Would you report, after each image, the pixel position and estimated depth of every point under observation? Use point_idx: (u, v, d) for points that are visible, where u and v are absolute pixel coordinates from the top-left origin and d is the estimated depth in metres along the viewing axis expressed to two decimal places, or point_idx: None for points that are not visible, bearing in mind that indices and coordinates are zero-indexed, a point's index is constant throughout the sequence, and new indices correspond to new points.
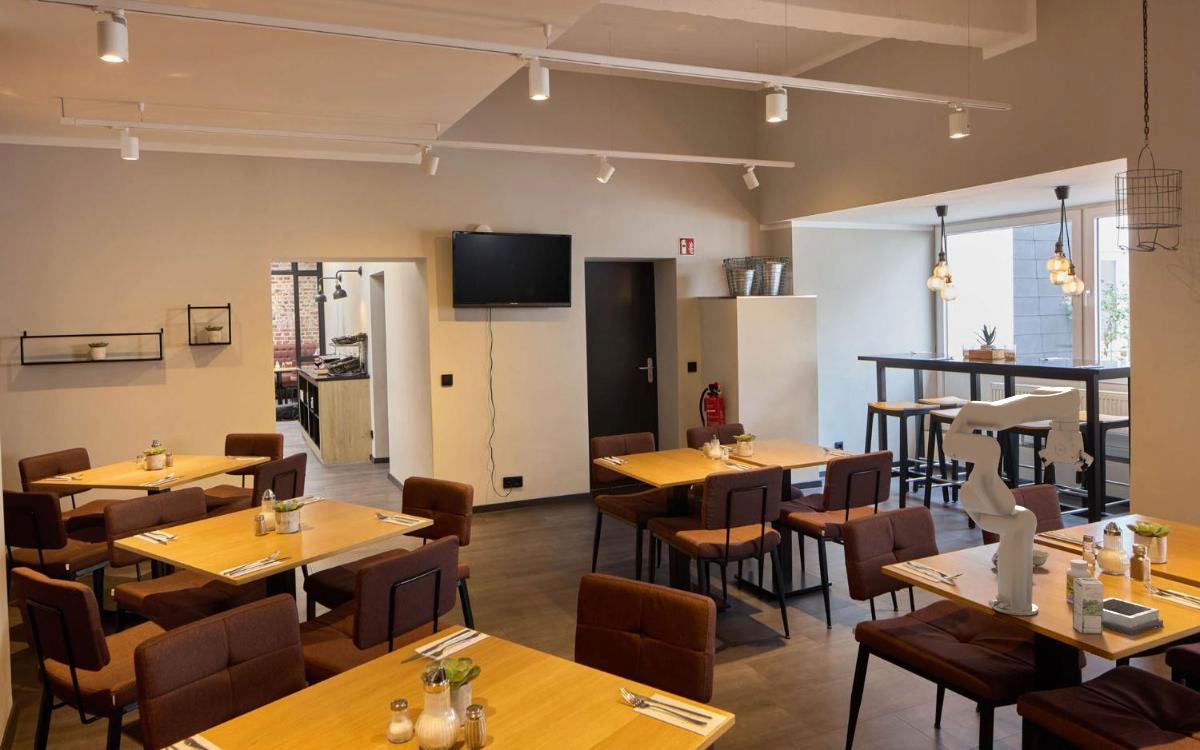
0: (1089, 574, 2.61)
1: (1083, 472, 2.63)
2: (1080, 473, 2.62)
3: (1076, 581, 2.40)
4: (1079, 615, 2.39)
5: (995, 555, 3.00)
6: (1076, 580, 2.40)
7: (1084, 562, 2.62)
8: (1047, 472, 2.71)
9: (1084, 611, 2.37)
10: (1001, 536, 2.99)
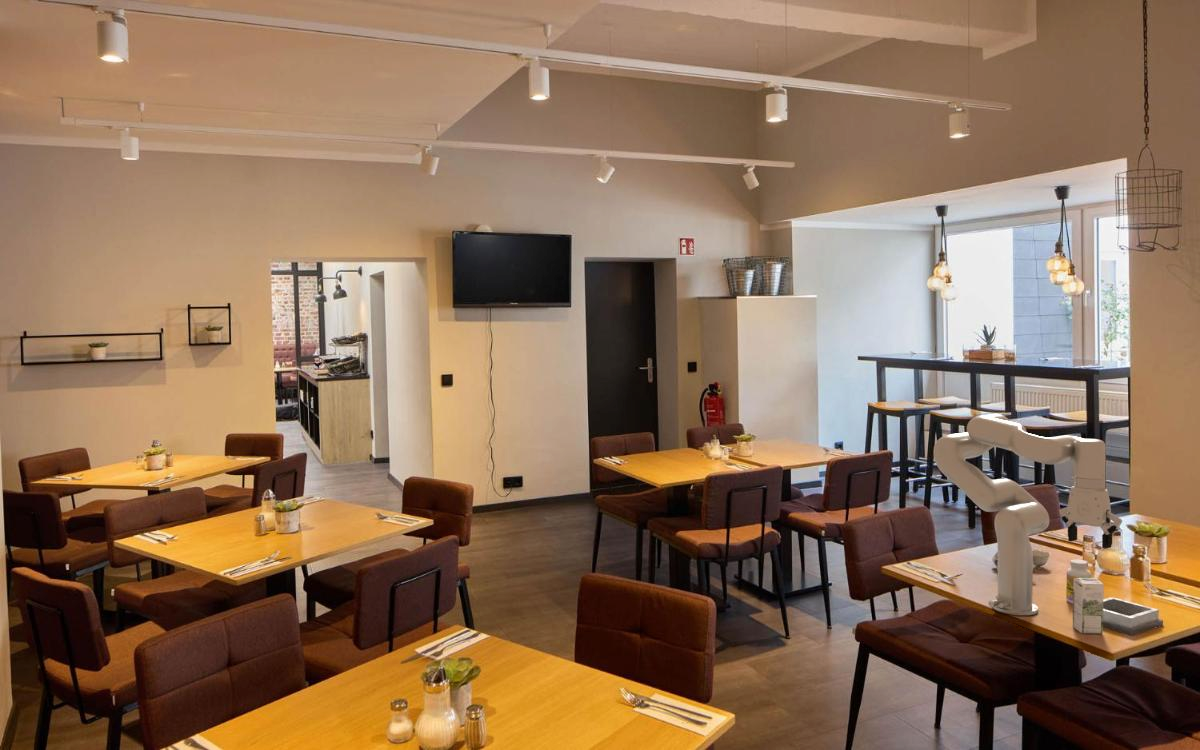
0: (1089, 574, 2.61)
1: (1110, 535, 2.33)
2: (1107, 536, 2.33)
3: (1076, 581, 2.40)
4: (1079, 615, 2.39)
5: (996, 555, 3.00)
6: (1076, 580, 2.40)
7: (1084, 562, 2.62)
8: (1069, 533, 2.42)
9: (1084, 611, 2.37)
10: None
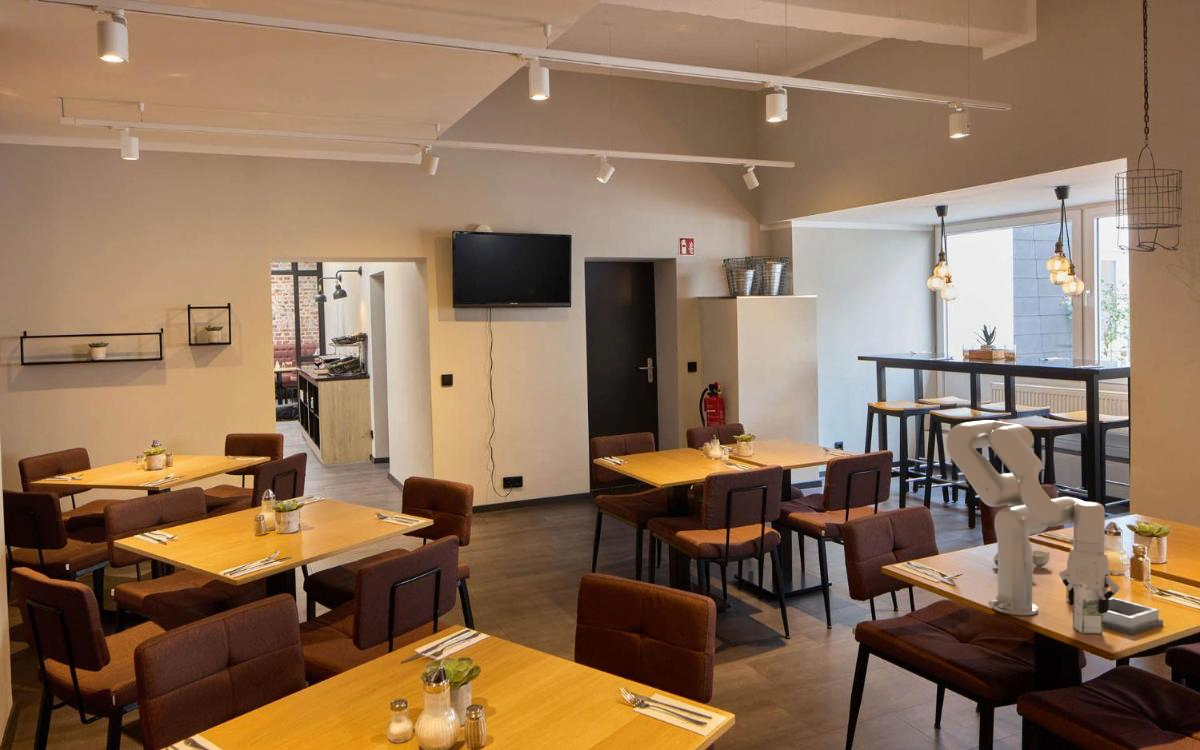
0: None
1: (1107, 600, 2.35)
2: (1103, 602, 2.35)
3: None
4: (1079, 615, 2.39)
5: (997, 555, 3.00)
6: None
7: None
8: (1070, 597, 2.42)
9: (1084, 611, 2.37)
10: None
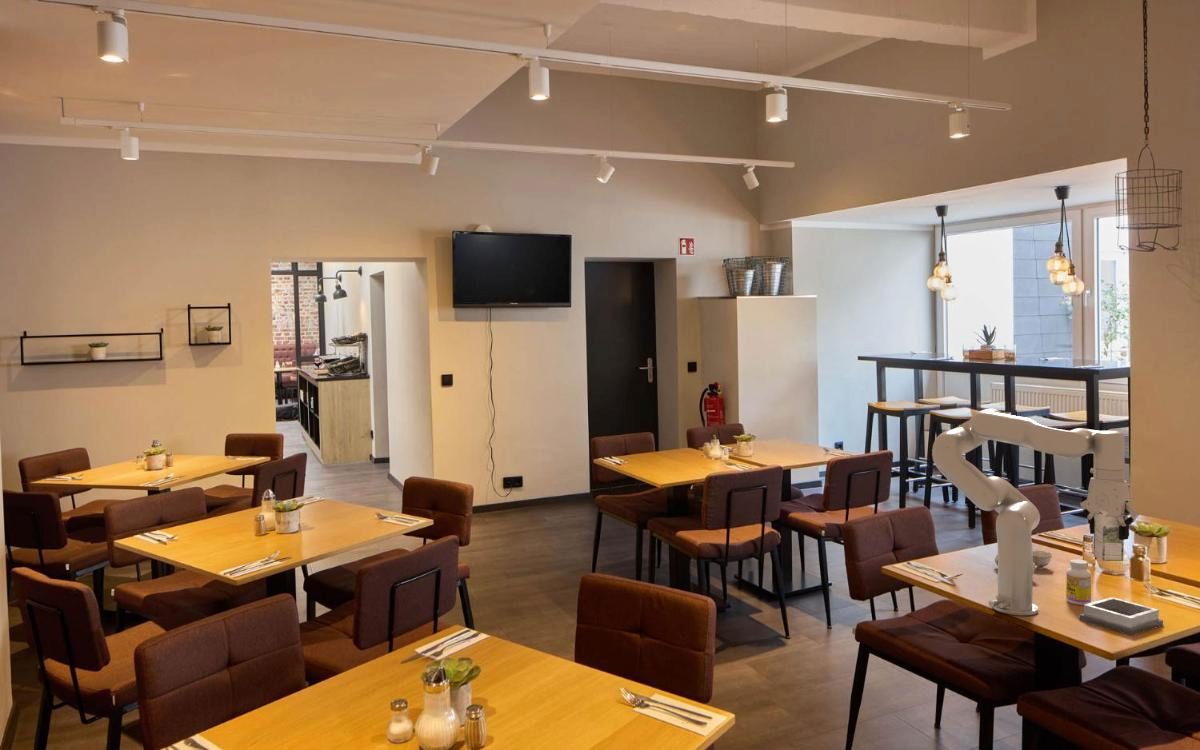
0: (1089, 574, 2.61)
1: (1127, 527, 2.37)
2: (1124, 528, 2.37)
3: None
4: (1099, 543, 2.41)
5: None
6: None
7: (1084, 562, 2.62)
8: (1091, 526, 2.44)
9: (1104, 538, 2.39)
10: None
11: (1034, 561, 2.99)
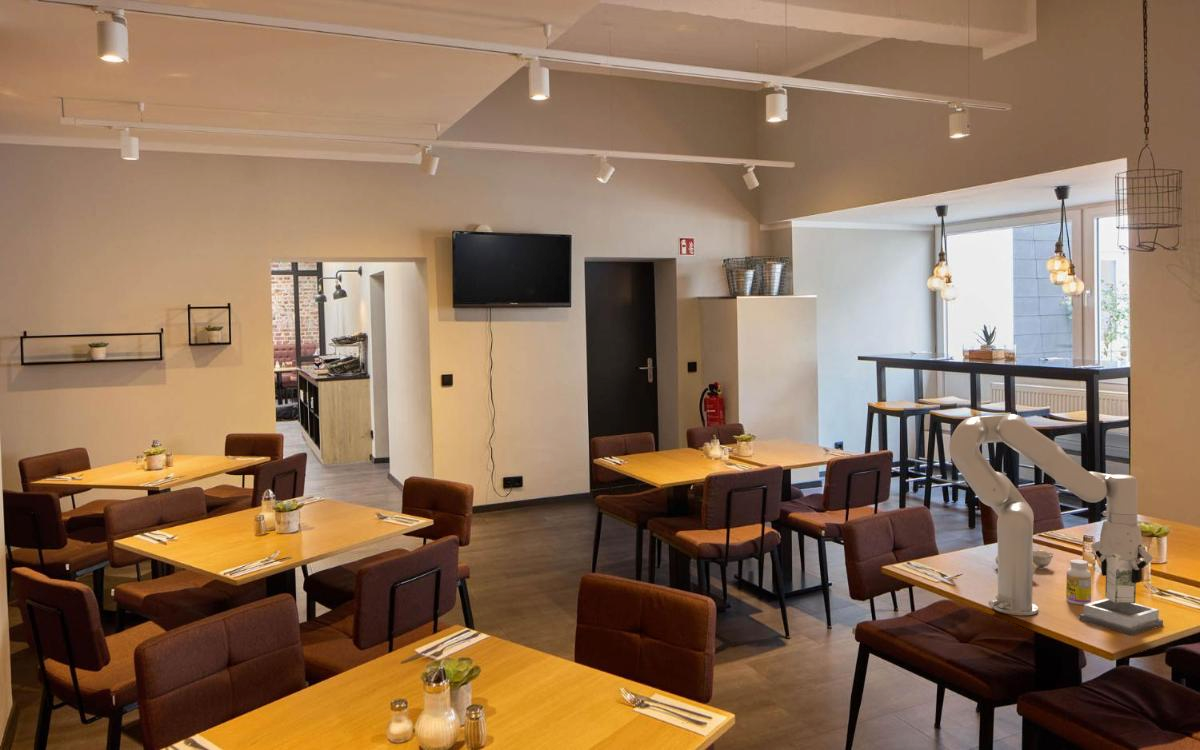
0: (1089, 574, 2.61)
1: (1140, 570, 2.40)
2: (1136, 572, 2.40)
3: None
4: (1112, 585, 2.44)
5: None
6: None
7: (1084, 562, 2.62)
8: (1103, 568, 2.48)
9: (1117, 581, 2.42)
10: None
11: (1035, 561, 2.99)
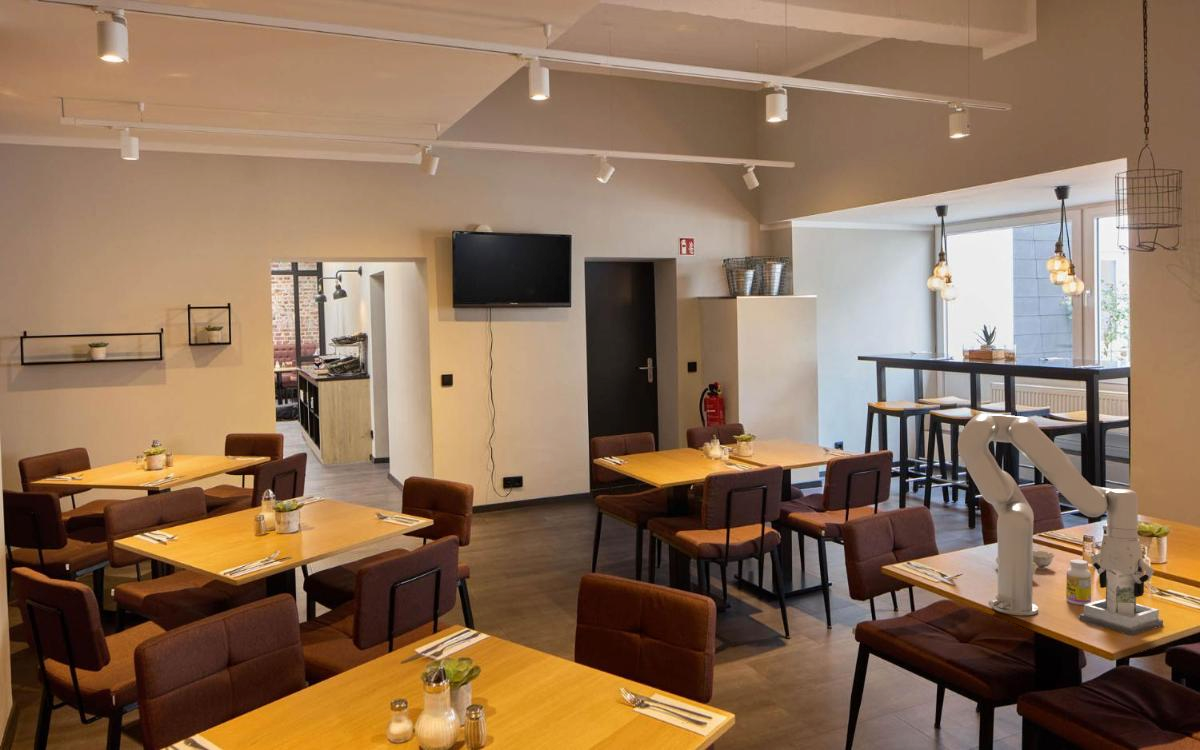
0: (1089, 574, 2.61)
1: (1142, 584, 2.40)
2: (1139, 585, 2.40)
3: None
4: (1112, 602, 2.44)
5: None
6: None
7: (1084, 562, 2.62)
8: (1101, 580, 2.49)
9: (1118, 598, 2.43)
10: None
11: (1036, 561, 2.98)
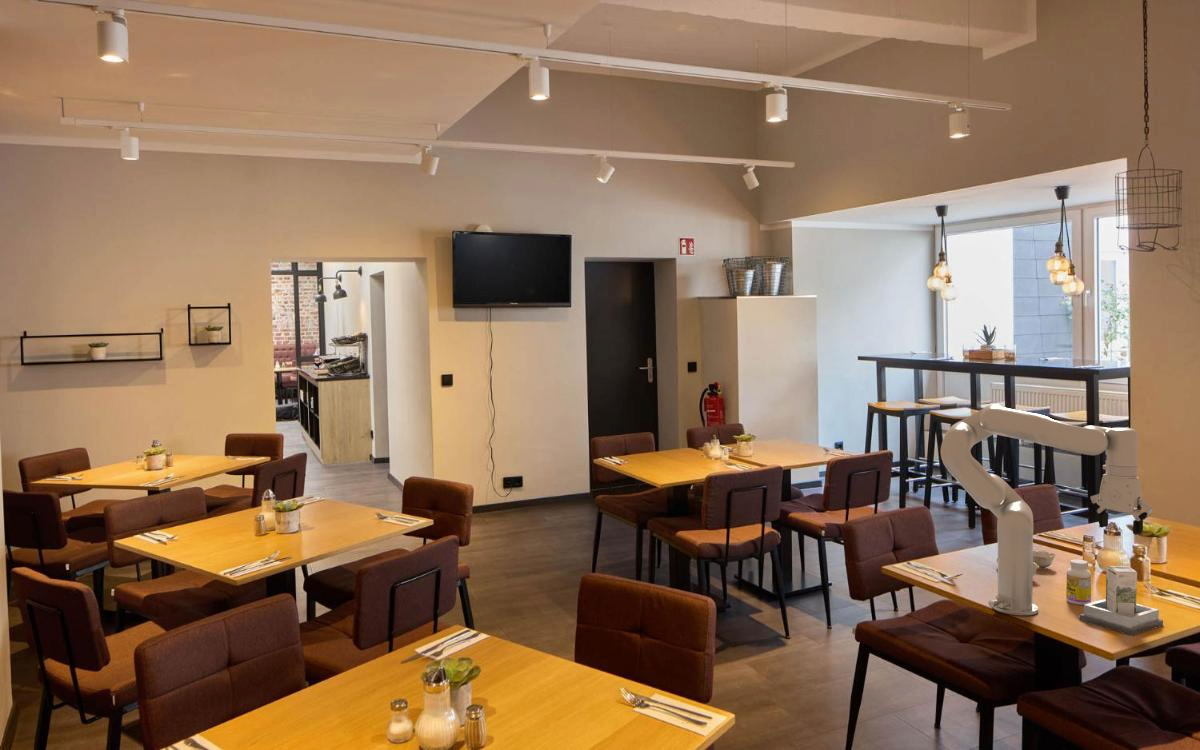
0: (1089, 574, 2.61)
1: (1141, 522, 2.40)
2: (1138, 523, 2.39)
3: (1109, 569, 2.46)
4: (1112, 602, 2.44)
5: None
6: (1109, 568, 2.46)
7: (1084, 562, 2.62)
8: (1100, 520, 2.48)
9: (1118, 598, 2.43)
10: None
11: (1036, 561, 2.98)
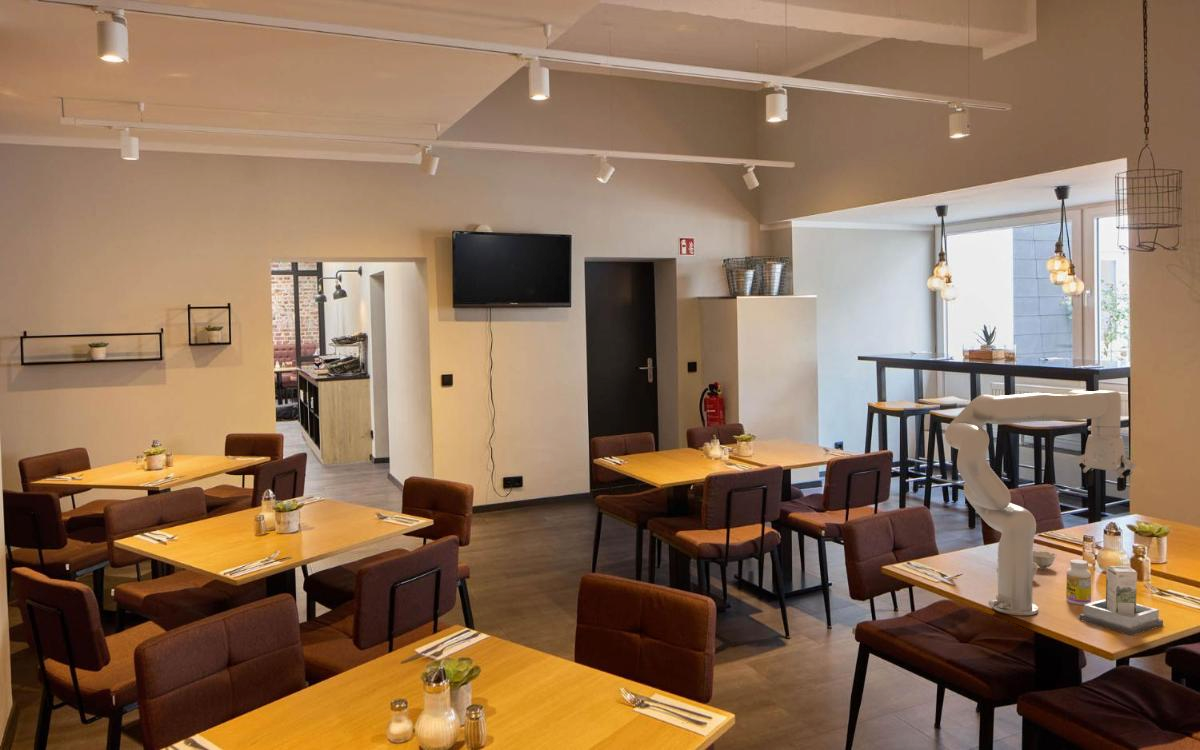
0: (1089, 574, 2.61)
1: (1125, 479, 2.53)
2: (1122, 480, 2.53)
3: (1109, 569, 2.46)
4: (1112, 602, 2.44)
5: None
6: (1109, 568, 2.46)
7: (1084, 562, 2.62)
8: (1086, 478, 2.61)
9: (1118, 598, 2.43)
10: None
11: (1037, 562, 2.98)
